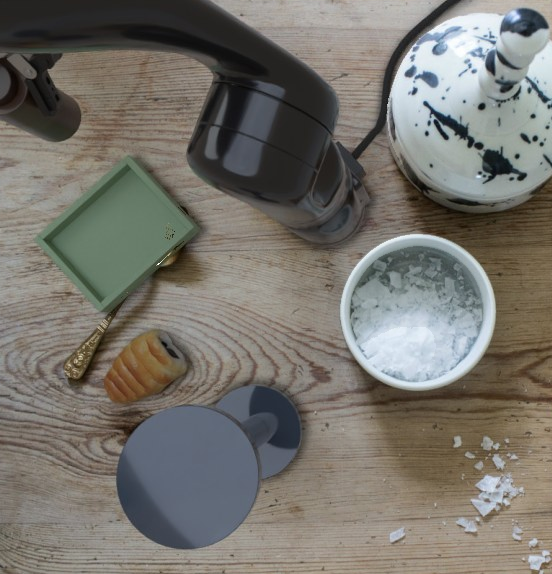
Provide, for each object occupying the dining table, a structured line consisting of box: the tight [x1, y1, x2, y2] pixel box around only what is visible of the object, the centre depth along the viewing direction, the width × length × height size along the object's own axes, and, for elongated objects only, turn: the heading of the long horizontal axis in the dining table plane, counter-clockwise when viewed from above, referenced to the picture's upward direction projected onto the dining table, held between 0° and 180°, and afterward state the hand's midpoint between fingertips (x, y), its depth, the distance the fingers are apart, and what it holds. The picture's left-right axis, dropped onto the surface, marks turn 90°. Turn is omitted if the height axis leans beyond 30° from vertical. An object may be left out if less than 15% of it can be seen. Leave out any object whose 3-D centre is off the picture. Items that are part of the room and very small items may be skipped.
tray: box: [33, 154, 202, 313], centre depth 72 cm, size 15×12×2 cm
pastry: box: [103, 329, 188, 405], centre depth 71 cm, size 9×7×4 cm
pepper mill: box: [0, 57, 82, 143], centre depth 58 cm, size 5×5×10 cm
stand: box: [115, 383, 303, 550], centre depth 62 cm, size 12×12×21 cm
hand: (21, 117), depth 57 cm, fingers closed on pepper mill, 5 cm apart
